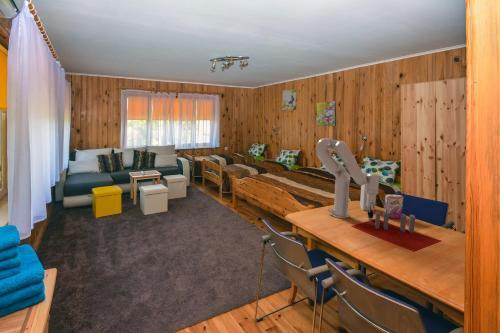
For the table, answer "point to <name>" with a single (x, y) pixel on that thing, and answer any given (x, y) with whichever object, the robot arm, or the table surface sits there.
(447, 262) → the table surface
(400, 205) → the candy bar box
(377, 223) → the domino
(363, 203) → the box
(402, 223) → the domino
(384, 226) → the domino
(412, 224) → the domino
